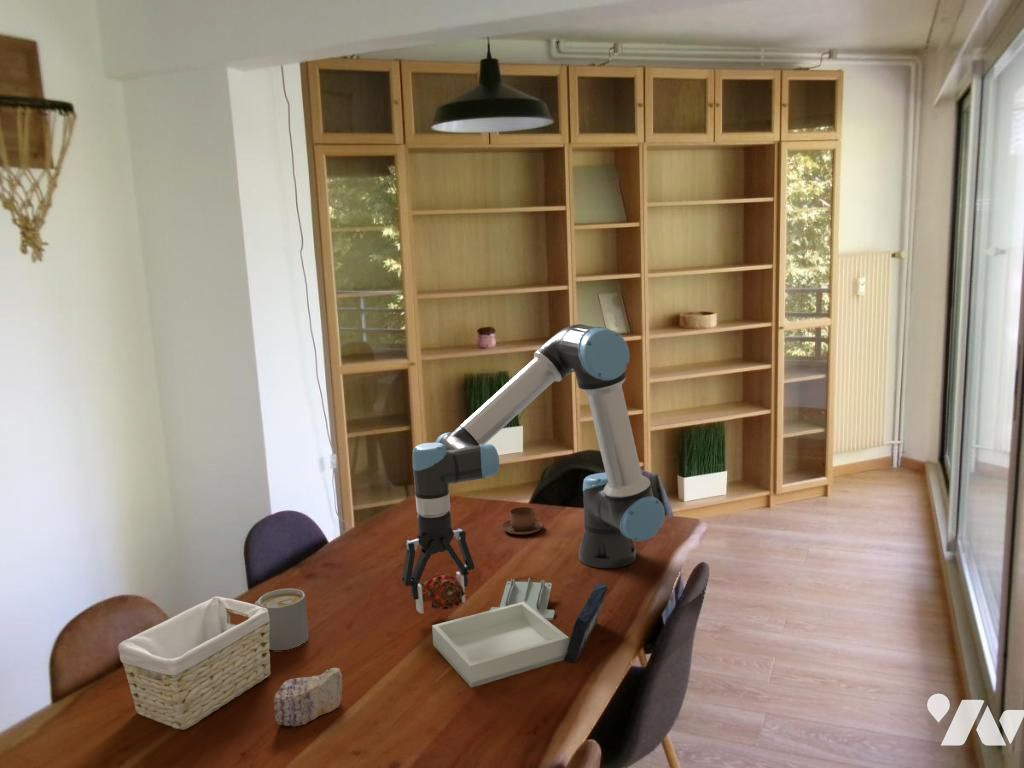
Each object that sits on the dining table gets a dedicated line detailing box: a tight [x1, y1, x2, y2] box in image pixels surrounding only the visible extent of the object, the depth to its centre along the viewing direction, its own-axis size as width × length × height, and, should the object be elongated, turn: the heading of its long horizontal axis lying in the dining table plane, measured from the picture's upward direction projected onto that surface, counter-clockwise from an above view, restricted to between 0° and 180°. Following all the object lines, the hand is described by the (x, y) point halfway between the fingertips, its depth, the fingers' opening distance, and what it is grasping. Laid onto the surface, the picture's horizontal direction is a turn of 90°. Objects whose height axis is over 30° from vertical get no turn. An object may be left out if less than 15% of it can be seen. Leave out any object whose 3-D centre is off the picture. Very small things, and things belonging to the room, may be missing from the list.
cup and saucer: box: [502, 506, 544, 536], centre depth 244 cm, size 12×12×6 cm
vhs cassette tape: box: [563, 582, 608, 664], centre depth 174 cm, size 18×3×10 cm, turn 159°
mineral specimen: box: [273, 667, 344, 727], centre depth 152 cm, size 14×8×7 cm, turn 136°
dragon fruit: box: [420, 572, 466, 611], centre depth 188 cm, size 8×8×12 cm
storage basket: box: [117, 596, 271, 731], centre depth 159 cm, size 24×16×15 cm
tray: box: [431, 602, 570, 688], centre depth 172 cm, size 22×20×4 cm
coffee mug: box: [253, 588, 310, 650], centre depth 182 cm, size 13×10×10 cm
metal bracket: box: [489, 577, 556, 621], centre depth 193 cm, size 14×6×15 cm
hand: (441, 605), depth 188 cm, fingers closed on dragon fruit, 9 cm apart
